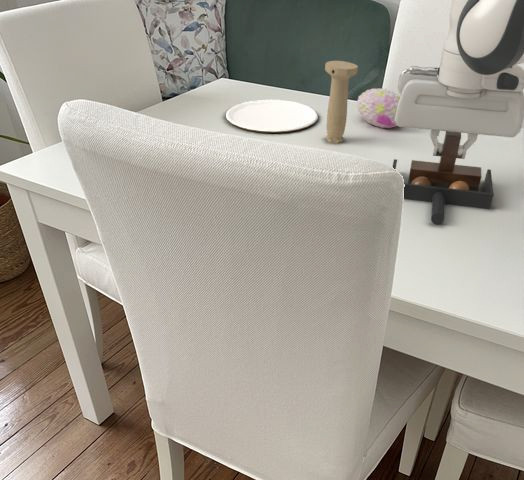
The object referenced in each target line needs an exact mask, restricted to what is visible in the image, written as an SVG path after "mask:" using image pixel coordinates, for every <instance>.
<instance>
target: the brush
mask: <svg viewBox="0 0 524 480" xmlns="http://www.w3.org/2000/svg"><path fill="white" fill-rule="evenodd" d="M461 141H462V133H459V132H449V131H445V134H444V138H443V151H442V155H441V156H439V162H433V161H424V160H415V159H411V164H410V168H409V174H408V180H407V184H411V183H412V181H413V180H414V179H415V178H417V177H420V176H423V177H426V178H428V179H429V180H430V182H431V184H432V186H433V187H442V188H449V186H450V185H451V184H452V183H453V182H455V181H464V182H466V183H467V184H468V186H469V189H470V191H476V192H479V187H480V184H481V180H482V175H483V174H482V167H479V166H470V165H462V164H456V161H457V158H456V157H457V153H458V149H459V145H461Z"/></svg>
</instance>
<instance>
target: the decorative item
mask: <svg viewBox="0 0 524 480" xmlns="http://www.w3.org/2000/svg"><path fill="white" fill-rule="evenodd" d="M357 98H358V99H357V100H356V108H357V111H358V114H360V116H361V117H362V119H363V120H364V121H366V122H367V123H368V124H370V125H371V126H375V127H377V128H381V129H392V128H394V127H399V126H398V125H397V124H396V122H395V116H396V111H397V107H398V103H399V99H400V94H397V93H395V92H394V91H391V90H389V89H387V88H376V87H375V88H371V89H367V90H365V91H364V92H361V94H360V95H359V96H358V97H357Z"/></svg>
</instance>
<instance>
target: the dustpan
mask: <svg viewBox="0 0 524 480" xmlns="http://www.w3.org/2000/svg"><path fill="white" fill-rule="evenodd" d="M397 164H398V159H395V158H394V159H393V162H392V167H393V168H394V169H397ZM403 183H404V184H405V187H404V199H403V200H409V201H416V202H417V201H418V202H425V203H426V202H427V203H431V211H430V213H431V215H430V221H431V222H432V223H433V224H434V225H440V224H442V223H443V222H444V221H445V208H446V207H445V205H451V206H459V207H468V208H474V209H475V208H476V209H483V210H484V209H486V210H490V209H491V206H492V202H493V199H494V195H495V194H494V185H493V177H492V169H489V168H488V169H487V170H486V174H485V177H484V181H483V191H478V192H476V191H468V190H459V189H450V188H442V187H433V186H424V185H415V184H408V182H407V183H405V182H403Z"/></svg>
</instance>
